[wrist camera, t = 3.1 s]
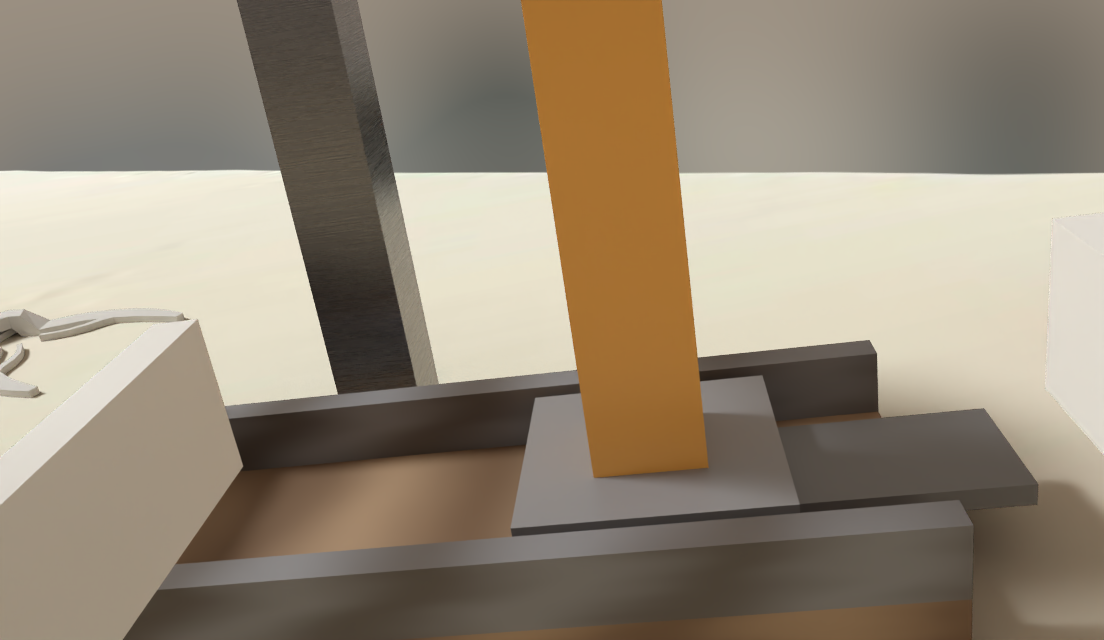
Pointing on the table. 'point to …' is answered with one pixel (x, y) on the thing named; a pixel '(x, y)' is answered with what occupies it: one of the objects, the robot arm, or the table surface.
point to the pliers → (62, 334)
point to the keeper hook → (341, 189)
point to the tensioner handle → (683, 332)
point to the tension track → (546, 559)
